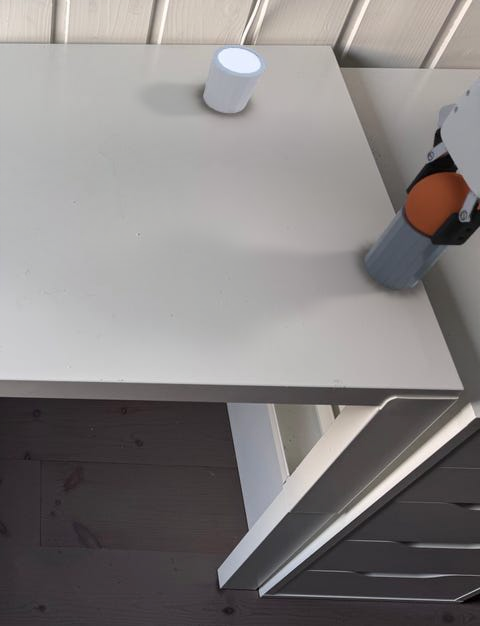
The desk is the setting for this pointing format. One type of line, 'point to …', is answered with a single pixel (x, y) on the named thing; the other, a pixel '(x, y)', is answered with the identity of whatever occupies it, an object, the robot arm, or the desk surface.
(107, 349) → the desk surface
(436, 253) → the cup
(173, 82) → the desk surface
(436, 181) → the ball
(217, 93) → the white cylinder
